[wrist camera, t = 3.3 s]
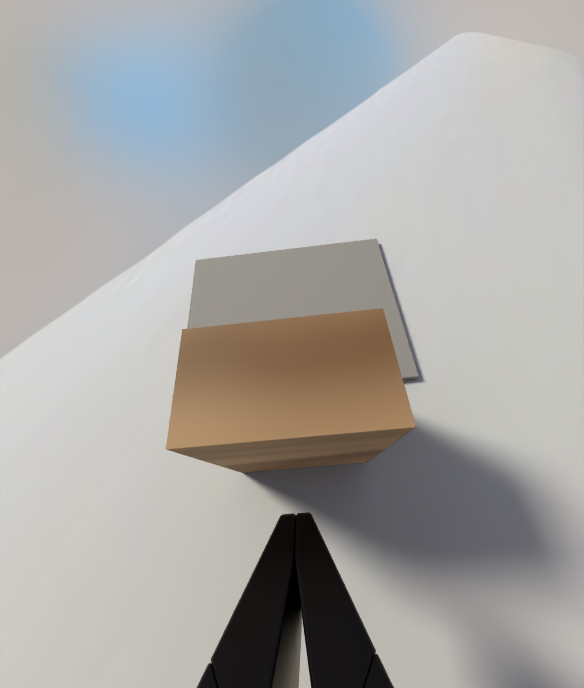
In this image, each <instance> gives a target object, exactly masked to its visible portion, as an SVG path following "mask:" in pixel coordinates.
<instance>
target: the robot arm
mask: <svg viewBox="0 0 584 688" xmlns="http://www.w3.org/2000/svg"><path fill="white" fill-rule="evenodd" d="M302 619H303V627H304V635H305V642H306V650H307V658H308V665H309V673H310V681H311V688H394V687H393V685H392V683H391V681H390V679H389V677H388V675H387V673H386V671H385V668H384V666H383V664H382V662H381V660H380V658H379V656H378V655H377V654H376V650H375V648H374V646H373V644H372V641H371V639H370V637H369V635H368V633H367V631H366V629H365V627H364V625H363V622H362V620H361V618H360V616H359V614H358V612H357V610H356V608H355V606H354V603H353V601H352V599H351V597H350V595H349V593H348V591H347V589H346V586H345V584H344V582H343V580H342V578H341V576H340V574H339V572H338V570H337V567H336V565H335V563H334V561H333V559H332V557H331V555H330V553H329V551H328V548H327V546H326V544H325V542H324V540H323V538H322V536H321V534H320V532H319V529H318V527H317V525H316V523H315V521H314V519H313V517H312V515H311V514H310V513H298V514H297V515H295V514H283V515H281V516H280V518H279V520H278V522H277V524H276V526H275V528H274V530H273V532H272V534H271V536H270V539H269V541H268V543H267V545H266V547H265V549H264V551H263V553H262V555H261V557H260V559H259V561H258V563H257V565H256V567H255V569H254V571H253V573H252V576H251V578H250V580H249V582H248V584H247V586H246V588H245V590H244V592H243V594H242V596H241V598H240V600H239V602H238V604H237V606H236V608H235V610H234V612H233V615H232V617H231V619H230V621H229V623H228V625H227V627H226V629H225V631H224V633H223V635H222V637H221V639H220V641H219V643H218V645H217V647H216V649H215V652H214V654H213V656H212V658H211V663H212V664H211V663H209V664H208V666H207V668H206V670H205V672H204V674H203V676H202V678H201V680H200V682H199V684H198V686H197V688H298V687H299V668H300V648H301V629H302Z"/></svg>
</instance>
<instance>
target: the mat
mask: <svg viewBox="0 0 584 688" xmlns="http://www.w3.org/2000/svg"><path fill="white" fill-rule="evenodd" d="M379 308H383V310H384V313H385V317H386V321H387V324H388V328H389V332H390V335H391V339H392V342H393V346H394V350H395V353H396V357H397V361H398V364H399V368H400V371H401V375H402V379H403V380H407V379H417V378H418V376H419V375H418V372H417V369H416V365H415V362H414V359H413V356H412V352H411V349H410V346H409V342H408V339H407V336H406V333H405V329H404V326H403V323H402V320H401V316H400V313H399V310H398V307H397V303H396V300H395V297H394V293H393V290H392V287H391V284H390V280H389V277H388V274H387V271H386V267H385V264H384V261H383V258H382V254H381V251H380V248H379V244H378V241H377V239H370V240H362V241H353V242H345V243H336V244H328V245H320V246H311V247H303V248H294V249H286V250H277V251H269V252H260V253H252V254H244V255H235V256H227V257H218V258H210V259H201V260H196V264H195V272H194V280H193V288H192V296H191V303H190V311H189V319H188V327H187V329H191V328H200V327H210V326H219V325H228V324H238V323H247V322H257V321H266V320H275V319H285V318H294V317H304V316H313V315H322V314H332V313H341V312H350V311H360V310H369V309H379Z"/></svg>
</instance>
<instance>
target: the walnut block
mask: <svg viewBox="0 0 584 688" xmlns="http://www.w3.org/2000/svg"><path fill="white" fill-rule="evenodd" d="M415 427H416V426H415V422H414V419H413V415H412V411H411V408H410V404H409V400H408V397H407V393H406V390H405V386H404V382H403V379H402V375H401V371H400V368H399V364H398V361H397V357H396V353H395V350H394V346H393V342H392V339H391V335H390V332H389V328H388V324H387V321H386V317H385V313H384V310H383V308H379V309H369V310H360V311H350V312H341V313H332V314H322V315H313V316H304V317H294V318H285V319H275V320H266V321H257V322H247V323H238V324H228V325H219V326H210V327H200V328H191V329H182V336H181V343H180V351H179V358H178V365H177V372H176V380H175V387H174V394H173V402H172V409H171V416H170V423H169V431H168V438H167V445H166V449H167V450H170V451H173V452H176V453H180V454H183V455H186V456H189V457H193V458H196V459H199V460H202V461H206V462H209V463H212V464H215V465H219V466H222V467H225V468H228V469H232V470H235V471H238V472H242V473H245V472H256V471H268V470H280V469H292V468H304V467H316V466H328V465H340V464H351V463H363V462H368V461H369V460H371V459H372V458H374V457H375V456H376V455H378V454H379V453H381V452H382V451H383V450H385V449H386V448H388V447H389V446H390V445H392V444H393V443H395V442H396V441H397V440H399V439H400V438H402V437H403V436H404V435H406V434H407V433H408V432H410V431H411V430H413V429H414V428H415Z"/></svg>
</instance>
